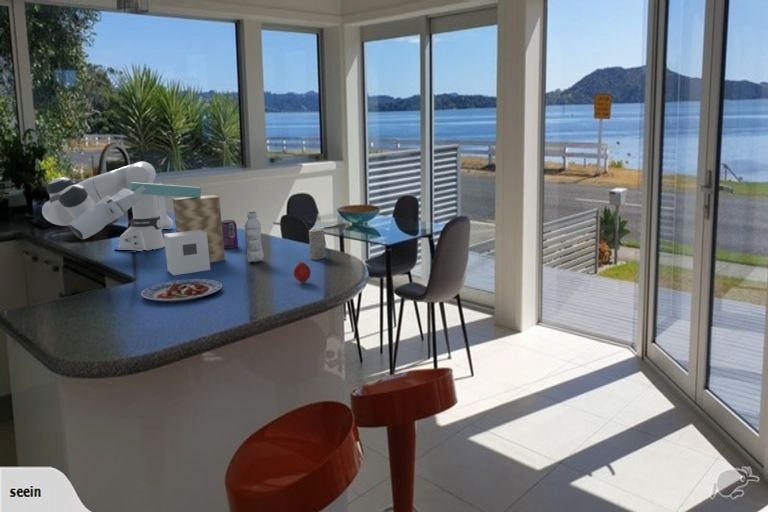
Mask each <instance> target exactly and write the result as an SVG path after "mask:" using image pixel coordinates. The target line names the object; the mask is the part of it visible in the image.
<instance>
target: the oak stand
mask: <svg viewBox="0 0 768 512" xmlns="http://www.w3.org/2000/svg"><path fill="white" fill-rule="evenodd" d="M220 201H221V200H220V196H217V195H214V194H206V195H201V198H195V197H177V198H176V197H175V198H174V197H173V198H172V204H173V206H172V207H173V215H174V224H175V231H176V232H175V233H177V232H185V231H193V230H202V231H204V232H206V233H207V239H208V250H209V260H210V263H215V262H223V261H225V260H226V256H225V248H224V243H223V233H222V222H221V221H222V213H221V203H220ZM222 260H223V261H222Z"/></svg>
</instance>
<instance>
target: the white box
mask: <svg viewBox="0 0 768 512" xmlns="http://www.w3.org/2000/svg"><path fill="white" fill-rule="evenodd" d="M163 239H164V242H165V247H164V249H165V257H166V268H167V272H169V273H170V274H171V275H172V276H178V275H184V274H192V273H197V272H205V271H211V262H210V260H209V250H208V239H207V233H206V232H204V231H202V230H193V231H185V232H177V233H176V232H170V233H163Z"/></svg>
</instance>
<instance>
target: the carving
mask: <svg viewBox="0 0 768 512" xmlns="http://www.w3.org/2000/svg"><path fill="white" fill-rule="evenodd" d="M308 239H309V256H310V259H311V260H314V261H318V260H323V259H324V258H325V256H326V250H325V249H326V246H325V245H326V242H325V231H324V229H323V228H312V229H310V230H308Z"/></svg>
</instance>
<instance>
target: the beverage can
mask: <svg viewBox="0 0 768 512" xmlns="http://www.w3.org/2000/svg"><path fill="white" fill-rule="evenodd" d="M221 222H222V233H223V243H224V249H234V247H235V248H237V247H238V246H239V240H238V228H237V223H236V220H235V219H225V220H221Z"/></svg>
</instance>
